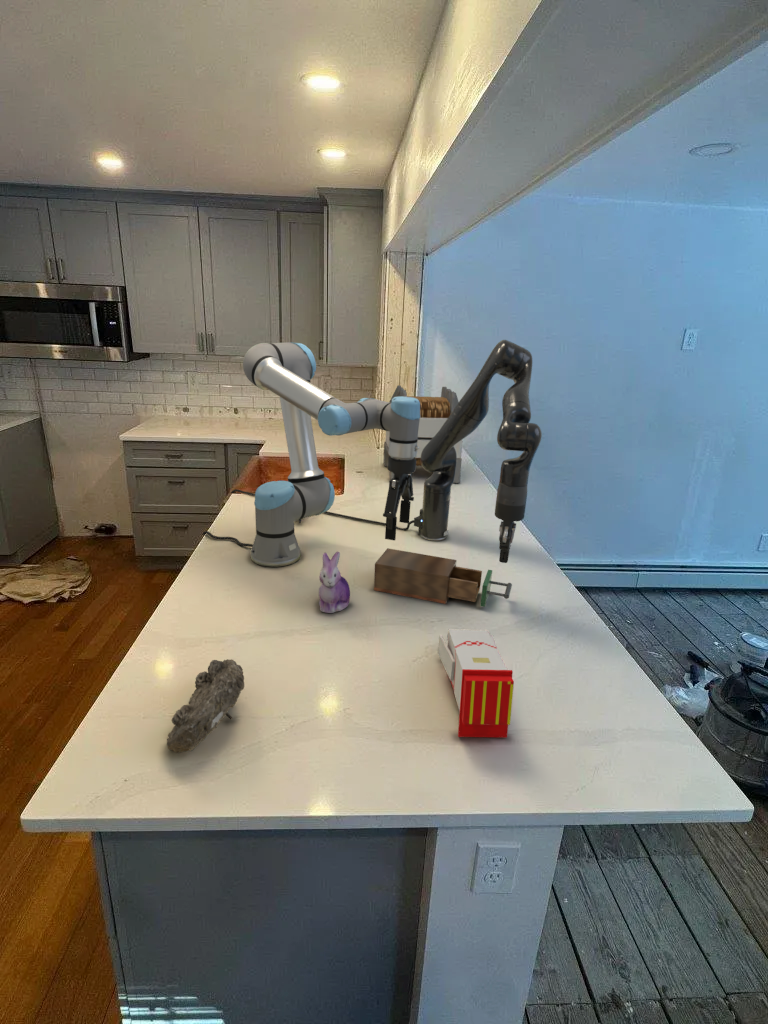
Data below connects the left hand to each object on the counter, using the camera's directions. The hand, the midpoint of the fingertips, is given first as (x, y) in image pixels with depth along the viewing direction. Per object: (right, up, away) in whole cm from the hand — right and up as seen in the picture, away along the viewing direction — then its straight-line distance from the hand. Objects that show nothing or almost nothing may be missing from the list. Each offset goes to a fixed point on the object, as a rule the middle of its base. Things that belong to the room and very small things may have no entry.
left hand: (397, 530), depth 158 cm
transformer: (+13, +24, +117) cm, 120 cm away
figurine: (-17, -20, -8) cm, 27 cm away
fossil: (-37, -34, -50) cm, 70 cm away
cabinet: (+5, -17, +4) cm, 18 cm away
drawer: (+18, -18, 0) cm, 25 cm away
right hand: (+28, -8, -7) cm, 30 cm away
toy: (+14, -33, -39) cm, 53 cm away
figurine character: (-36, +3, +52) cm, 63 cm away
